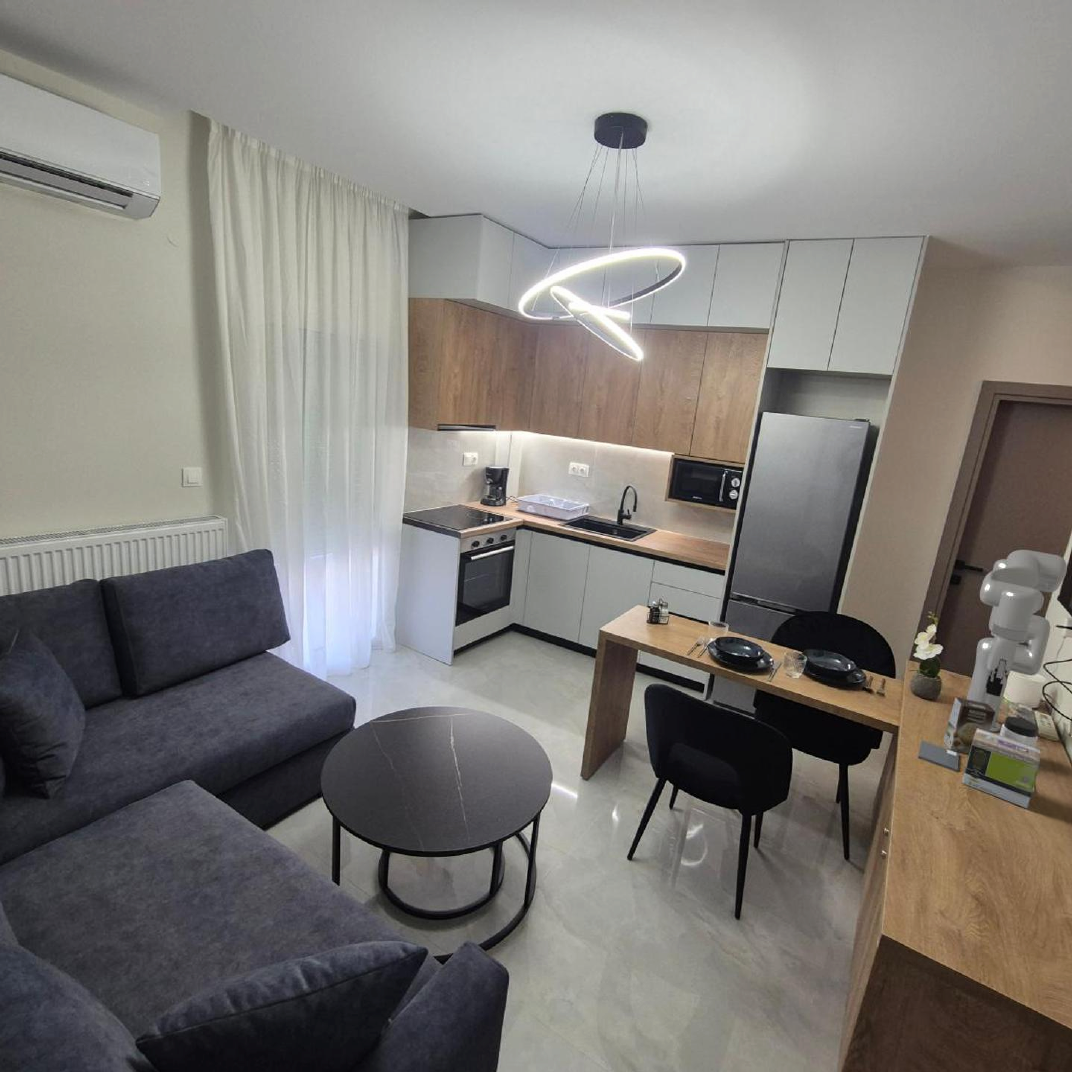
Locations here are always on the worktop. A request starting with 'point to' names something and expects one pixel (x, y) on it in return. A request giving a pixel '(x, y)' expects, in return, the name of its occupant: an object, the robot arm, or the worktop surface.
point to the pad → (939, 755)
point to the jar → (1020, 730)
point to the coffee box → (967, 723)
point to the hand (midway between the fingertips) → (992, 691)
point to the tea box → (1002, 767)
